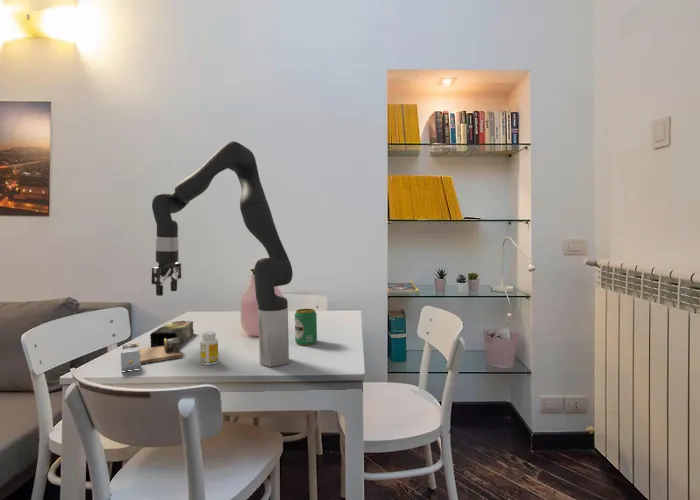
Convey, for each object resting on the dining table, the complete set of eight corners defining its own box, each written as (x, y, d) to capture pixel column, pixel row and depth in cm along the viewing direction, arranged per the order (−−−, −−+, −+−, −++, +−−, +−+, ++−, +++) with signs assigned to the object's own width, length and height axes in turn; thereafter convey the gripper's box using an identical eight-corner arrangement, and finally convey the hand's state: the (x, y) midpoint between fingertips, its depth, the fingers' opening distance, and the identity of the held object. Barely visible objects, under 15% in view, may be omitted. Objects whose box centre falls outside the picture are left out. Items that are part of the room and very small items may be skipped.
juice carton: (170, 333, 167) (169, 319, 166) (195, 333, 167) (194, 318, 167) (149, 349, 147) (148, 332, 146) (177, 349, 147) (176, 332, 147)
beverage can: (290, 342, 151) (290, 310, 150) (307, 338, 156) (307, 307, 156) (304, 347, 145) (303, 313, 144) (321, 342, 151) (320, 310, 150)
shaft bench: (176, 346, 148) (176, 332, 147) (182, 357, 135) (181, 341, 135) (123, 354, 139) (122, 339, 139) (123, 367, 127) (122, 350, 127)
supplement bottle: (198, 366, 127) (197, 335, 127) (203, 360, 133) (202, 331, 132) (216, 365, 128) (215, 335, 127) (220, 359, 133) (219, 330, 133)
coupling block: (140, 370, 125) (139, 350, 124) (121, 373, 122) (120, 353, 122) (139, 365, 129) (138, 346, 128) (121, 368, 126) (120, 349, 126)
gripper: (164, 251, 140) (164, 298, 142) (187, 248, 154) (187, 290, 156) (144, 250, 141) (144, 296, 143) (169, 246, 155) (169, 288, 157)
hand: (166, 293), depth 149 cm, fingers open, 8 cm apart
